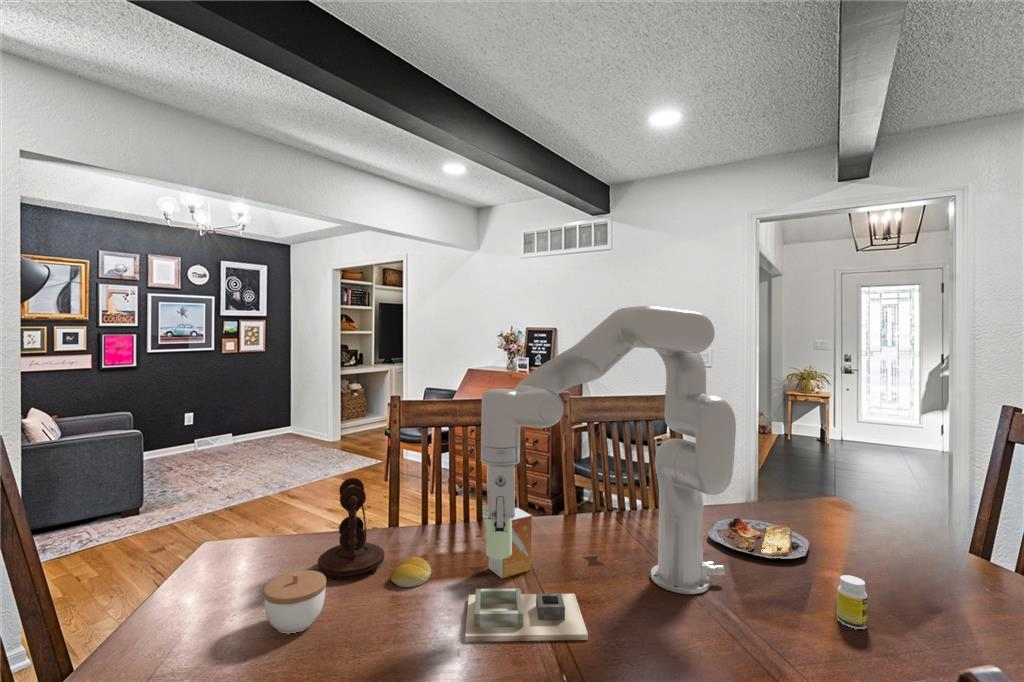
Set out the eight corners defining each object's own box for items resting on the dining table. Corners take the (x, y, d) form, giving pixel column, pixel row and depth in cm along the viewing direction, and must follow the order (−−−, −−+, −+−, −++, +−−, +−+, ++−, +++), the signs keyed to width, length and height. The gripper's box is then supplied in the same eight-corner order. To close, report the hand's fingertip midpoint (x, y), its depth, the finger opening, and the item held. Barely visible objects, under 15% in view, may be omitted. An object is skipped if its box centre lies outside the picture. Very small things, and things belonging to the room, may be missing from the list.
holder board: (574, 598, 102) (574, 581, 102) (587, 639, 88) (588, 620, 88) (468, 599, 101) (468, 582, 101) (465, 641, 87) (465, 622, 87)
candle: (481, 557, 93) (481, 514, 93) (492, 546, 98) (492, 505, 97) (506, 561, 91) (505, 517, 91) (515, 550, 96) (515, 508, 96)
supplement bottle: (867, 633, 91) (868, 588, 91) (837, 625, 94) (838, 581, 94) (865, 621, 95) (866, 578, 95) (836, 613, 98) (837, 571, 98)
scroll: (387, 576, 111) (388, 488, 111) (316, 587, 106) (317, 494, 106) (381, 549, 125) (381, 471, 124) (318, 558, 120) (319, 476, 119)
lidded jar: (281, 608, 98) (281, 560, 97) (334, 609, 97) (335, 562, 97) (251, 641, 87) (251, 588, 87) (311, 643, 87) (311, 590, 86)
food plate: (722, 518, 149) (722, 507, 149) (812, 538, 135) (812, 526, 135) (699, 549, 128) (700, 536, 128) (802, 577, 115) (803, 562, 115)
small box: (502, 579, 110) (503, 521, 110) (487, 568, 115) (488, 513, 115) (531, 570, 114) (532, 514, 114) (516, 560, 120) (517, 506, 120)
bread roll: (385, 587, 106) (385, 569, 106) (402, 568, 115) (402, 551, 115) (421, 591, 105) (422, 572, 105) (435, 571, 114) (436, 554, 114)
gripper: (522, 464, 87) (520, 568, 87) (517, 444, 103) (516, 532, 103) (479, 464, 86) (478, 568, 86) (481, 444, 102) (480, 532, 102)
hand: (498, 548), depth 95 cm, fingers closed on candle
